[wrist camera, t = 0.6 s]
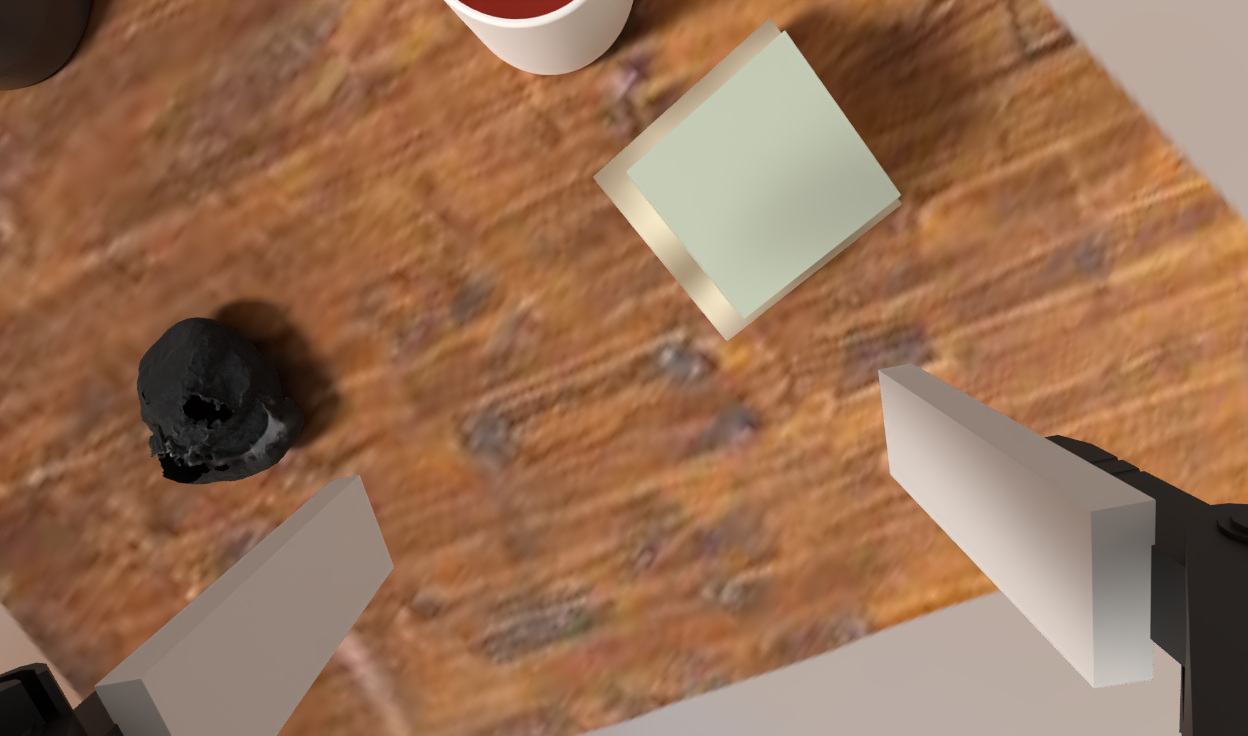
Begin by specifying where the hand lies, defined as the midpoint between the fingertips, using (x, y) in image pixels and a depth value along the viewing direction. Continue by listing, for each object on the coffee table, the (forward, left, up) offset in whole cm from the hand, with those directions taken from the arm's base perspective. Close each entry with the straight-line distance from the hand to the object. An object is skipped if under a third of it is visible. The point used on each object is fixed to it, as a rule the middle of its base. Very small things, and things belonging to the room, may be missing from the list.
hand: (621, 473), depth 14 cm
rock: (-14, -26, -25) cm, 38 cm away
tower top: (-2, +10, -20) cm, 22 cm away
